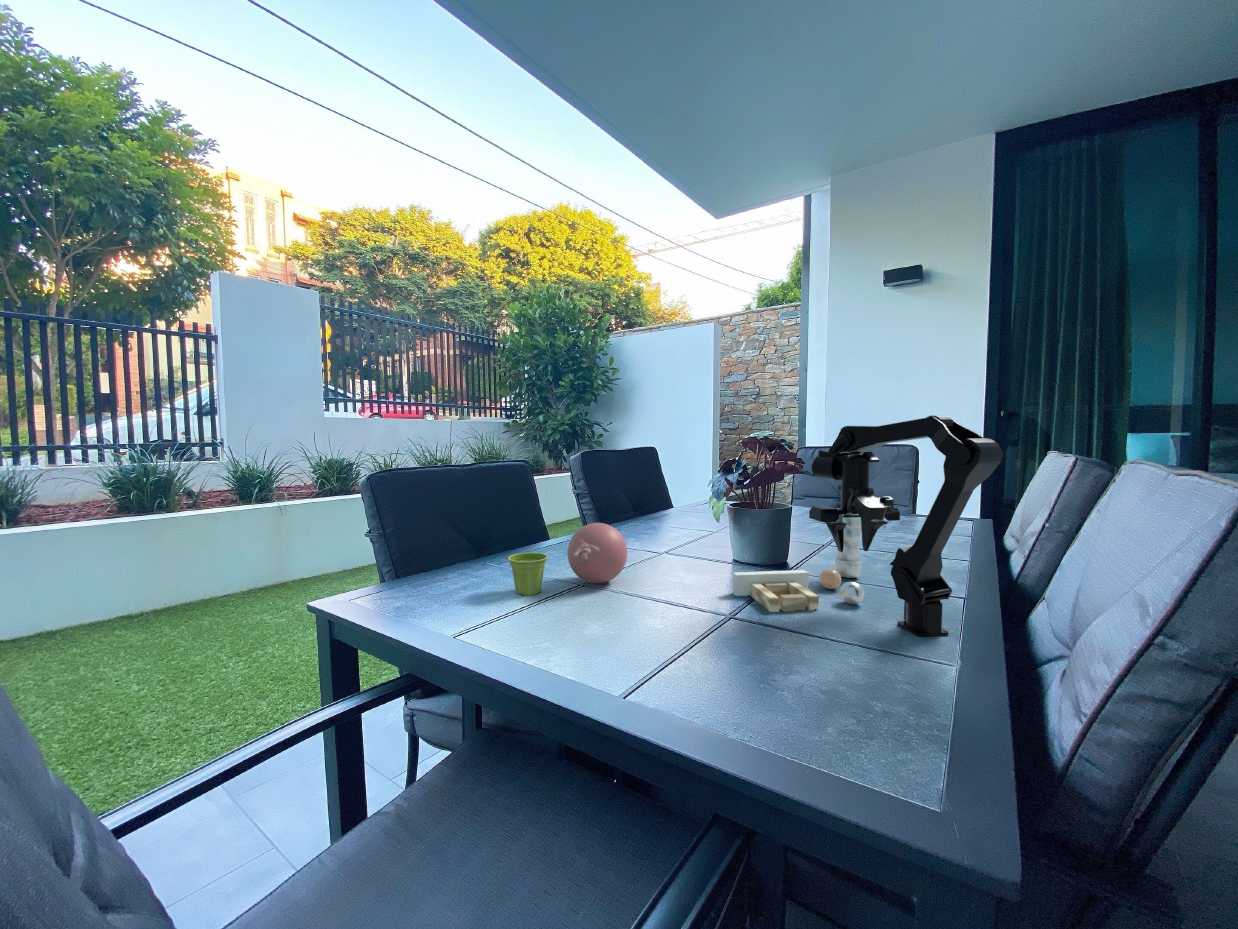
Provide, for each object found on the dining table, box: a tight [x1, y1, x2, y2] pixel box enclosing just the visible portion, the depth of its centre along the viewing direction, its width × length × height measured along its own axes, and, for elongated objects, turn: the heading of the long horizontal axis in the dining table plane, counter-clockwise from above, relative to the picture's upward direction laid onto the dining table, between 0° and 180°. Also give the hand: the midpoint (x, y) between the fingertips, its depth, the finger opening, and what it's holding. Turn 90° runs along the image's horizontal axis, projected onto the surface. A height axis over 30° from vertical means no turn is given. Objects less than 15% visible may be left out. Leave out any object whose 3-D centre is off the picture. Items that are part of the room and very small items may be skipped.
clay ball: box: [819, 568, 842, 590], centre depth 127 cm, size 5×5×5 cm
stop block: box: [732, 569, 810, 597], centre depth 124 cm, size 2×18×5 cm, turn 97°
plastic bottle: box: [833, 517, 862, 579], centre depth 137 cm, size 6×7×20 cm
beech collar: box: [750, 582, 820, 613], centre depth 117 cm, size 11×11×3 cm
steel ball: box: [839, 581, 865, 605], centre depth 116 cm, size 5×5×5 cm
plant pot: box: [507, 552, 549, 596], centre depth 125 cm, size 9×9×9 cm
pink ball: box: [567, 522, 628, 584], centre depth 130 cm, size 15×20×15 cm
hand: (853, 551), depth 115 cm, fingers open, 6 cm apart
